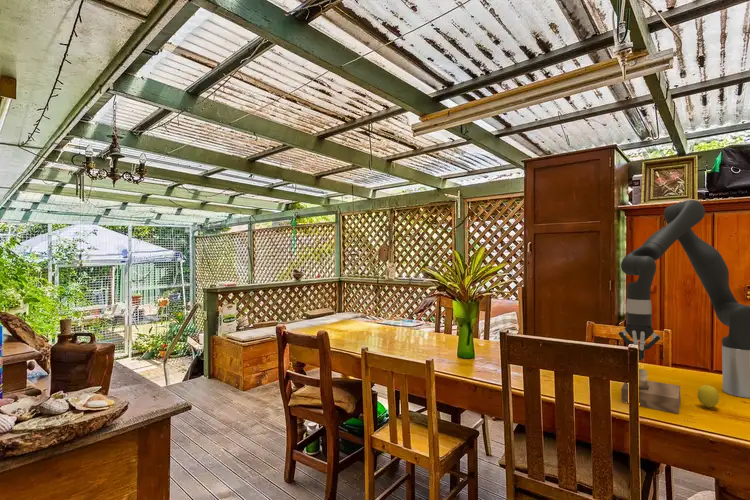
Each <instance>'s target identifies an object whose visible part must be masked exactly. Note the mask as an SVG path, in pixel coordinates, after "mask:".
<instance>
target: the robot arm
mask: <svg viewBox="0 0 750 500" xmlns="http://www.w3.org/2000/svg"><path fill="white" fill-rule="evenodd" d="M705 215H706V209H705V207H704V205H703V204H702V203H701V201H698V200H696V199H689V200H684V201H680V202H678V203H674V204H672V205H671V204H670V205H668V206H667V207H665V208H664V211H663V217H664V220H665V222H666V225H664V226H663V227H662V228H660V229H659V230H658V229H657V231H655V232H654V233H653V234H651V235H650V236H649V237H648V238H647V239H646V240H645V242H644V243H642V245H641V246H639V247H637V248H635V249H634V250H633V251H630V252H629V253H627V255H626V256H624V257H623V259H622V261H621V263H620V269H621V271H622V272H623V273H624V274H625V275H629V276H638V277H637V280H636V281H631V282H628V284H627V285H626V304H625V305H626V306H625V311H626V313H625V314H626V317H625V318H626V325H625V327H624V329H623V330H620V331H619V332H618V335H619V337H620V338H621V339H622V340H623V341H624V343H625V344H626V345H627V346H628V345H629V344H634V345H638V346H639V360H638V361H641V362H642V360H645V350H650V349H651V348H652V347H653V346H655V345H656V343H657V342H659V340H660V339H661V337H662V336H661V335H659V334H657V332H656V333H655V330H654V329H653V317H652V316H653V315H652V314H653V313H652V310H653V307H652V306H653V305H652V301H651V297H652V296H651V292H652V291H651V287H652V285H653V281H654V277H655V275H656V271H657V263H656V261H658V260H659V259H661V257H662V256H663V255H664V254H665V253H666V252H667V251H668V250H669V248H670V247H671V246H672V245H673V244H674V243H675V242H676V241H678V242H679V244H680V245H681V247H682V248H683V250H684V252H685V255H686V256H687V257H688V259H689V262H690V263H691V266H692V268H693V269H694V272H695V274H696V275H697V276H698V279H699V280H700V282H701V284H702V286H703V288H704V289H705V292H706V293H707V295H708V298H709V300H710V302H711V304H712V308H713V309H714V313H715V315H716V318H717V319H718V321H719V322H721V324H722V325H724V326H727V327H728V334H727V336H723V337H722V338H721V339H722V340H721V356H722V358H721V359H722V360H721V364H722V365H721V366H722V367H721V369H722V370H721V371H722V392H724V393H726V394H728V395H731V396H735V397H740V398H746V399H747V398H749V399H750V305H747V304H742V303H739V302H738V300H737V299H736V298H735V296H734V294H733V292H732V290H731V288H730V273H729V272H730V271H729V267H728V265H727V263H726V262H725V260H724V258H723V256H722V254H721V253H720V251H719V250H717V249H716V248H715V247H714V246H712V245H710V244H709V243H708V242H706V241H704V240H703V239H702V238H700V237H699V236H698V235H697V234H696V233H695V232H694V231H693V229H692V228H694V227H695V226H696V225H698V224H699V223H700V222H701V221H702V220H703V219H704V217H705ZM627 335H629V337H630V338H631V339H632V341H631V340H630V338H629V337H628V336H627ZM650 337H651V341H649V342H648V343H647V344H646V341H647V340H648V339H649V338H650Z"/></svg>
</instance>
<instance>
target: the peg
mask: <svg viewBox="0 0 750 500" xmlns="http://www.w3.org/2000/svg"><path fill="white" fill-rule="evenodd" d="M647 380H648V370H646V369H643V368H639V389H643V390H646V389H648V382H647Z"/></svg>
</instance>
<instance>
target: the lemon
mask: <svg viewBox="0 0 750 500" xmlns="http://www.w3.org/2000/svg"><path fill="white" fill-rule="evenodd" d="M697 399H698V401H699V402H700V404H702V405H703V406H705V407H706V408H707V409H710V408H712V407H713V408H714V407H716V406H718V404H719V401H720V395H719V392H718V390H717V388H715V387H714V386H711V384H708V383H706V384H705V385H701V386H700V387H699V388H698V390H697Z"/></svg>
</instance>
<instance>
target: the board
mask: <svg viewBox="0 0 750 500" xmlns="http://www.w3.org/2000/svg"><path fill="white" fill-rule="evenodd" d="M647 382H648V389H646V390H643V389H639V403H640V406H639V407H643V408H648V409H652V410H656V411H661V412H667V413H670V414H676V415H679V414H680V407H681V400H682V399H681V398H682V397H681V395H682V394H681V385H677V384H673V383H672V384H671V383H665V382H659V381H652V380H648V379H647ZM620 391H621V393H620V394H621V402H622V401H623V402H627V403H628V384H627V383H625V382H624V383H623V385H622V387H621V390H620ZM627 403H626V404H627Z"/></svg>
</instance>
